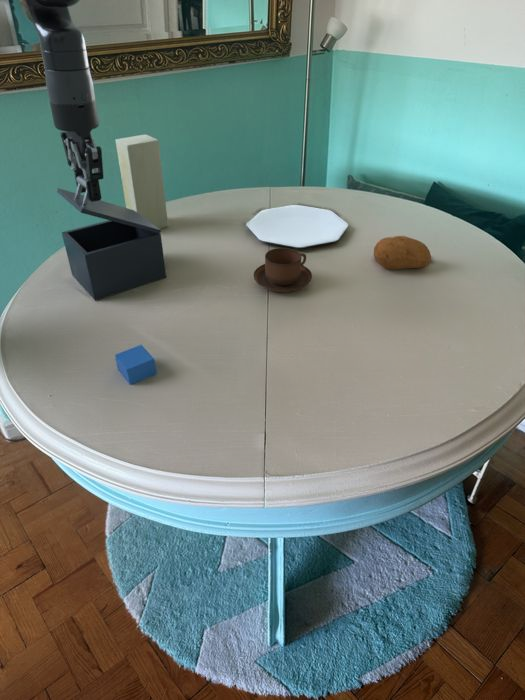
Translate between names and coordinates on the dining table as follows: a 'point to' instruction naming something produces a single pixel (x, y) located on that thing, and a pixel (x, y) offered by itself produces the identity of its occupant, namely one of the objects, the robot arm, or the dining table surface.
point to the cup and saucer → (283, 271)
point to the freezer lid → (105, 208)
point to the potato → (401, 253)
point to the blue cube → (135, 364)
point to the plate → (297, 226)
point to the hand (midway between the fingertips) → (89, 195)
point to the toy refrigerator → (143, 177)
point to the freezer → (114, 257)
